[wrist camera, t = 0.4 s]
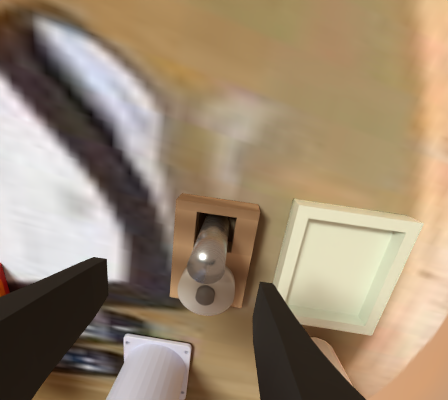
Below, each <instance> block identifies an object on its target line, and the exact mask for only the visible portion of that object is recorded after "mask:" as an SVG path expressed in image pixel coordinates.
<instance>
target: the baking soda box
mask: <svg viewBox="0 0 448 400" xmlns="http://www.w3.org/2000/svg"><path fill="white" fill-rule="evenodd" d="M8 293H10V291H9V288H8V284H7V281H6V277H5V274H4V271H3V267H2V264H1V263H0V297H1V296H4V295H6V294H8Z"/></svg>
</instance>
